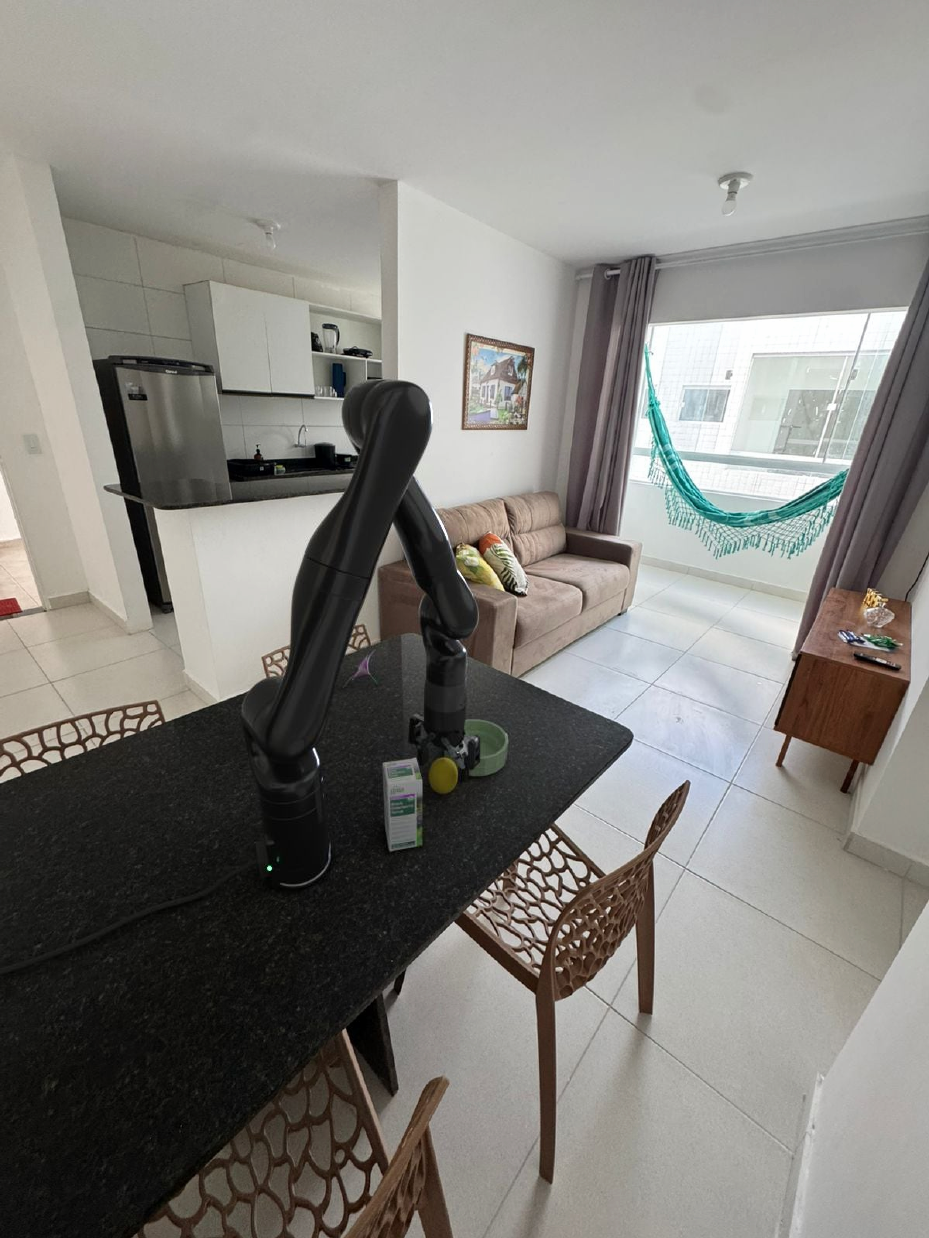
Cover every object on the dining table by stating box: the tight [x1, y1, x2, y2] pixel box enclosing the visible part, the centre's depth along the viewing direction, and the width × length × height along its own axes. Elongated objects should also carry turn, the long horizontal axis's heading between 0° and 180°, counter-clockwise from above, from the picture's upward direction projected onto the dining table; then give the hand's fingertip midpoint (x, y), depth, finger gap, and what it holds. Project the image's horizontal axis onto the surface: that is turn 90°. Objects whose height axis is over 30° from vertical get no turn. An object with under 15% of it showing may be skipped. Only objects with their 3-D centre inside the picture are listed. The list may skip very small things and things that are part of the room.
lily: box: [342, 650, 379, 689], centre depth 132 cm, size 12×12×10 cm
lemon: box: [428, 757, 458, 795], centre depth 97 cm, size 6×6×8 cm
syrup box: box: [382, 757, 423, 853], centre depth 86 cm, size 6×6×14 cm
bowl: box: [443, 718, 509, 777], centre depth 107 cm, size 13×13×5 cm
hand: (442, 772), depth 96 cm, fingers open, 8 cm apart
